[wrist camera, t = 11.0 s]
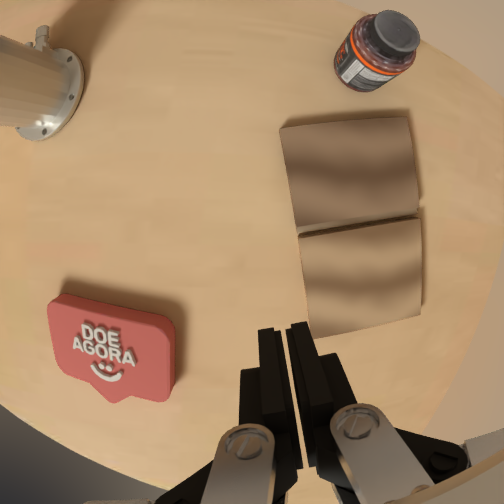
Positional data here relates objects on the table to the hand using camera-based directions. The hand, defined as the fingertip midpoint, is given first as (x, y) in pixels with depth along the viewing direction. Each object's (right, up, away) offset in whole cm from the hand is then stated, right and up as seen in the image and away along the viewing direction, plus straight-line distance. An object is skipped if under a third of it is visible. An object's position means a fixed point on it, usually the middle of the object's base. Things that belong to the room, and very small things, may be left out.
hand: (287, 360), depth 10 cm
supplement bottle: (+10, +24, +17) cm, 31 cm away
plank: (+11, +1, +23) cm, 26 cm away
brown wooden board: (+9, +12, +20) cm, 25 cm away
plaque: (-20, -10, +27) cm, 35 cm away
